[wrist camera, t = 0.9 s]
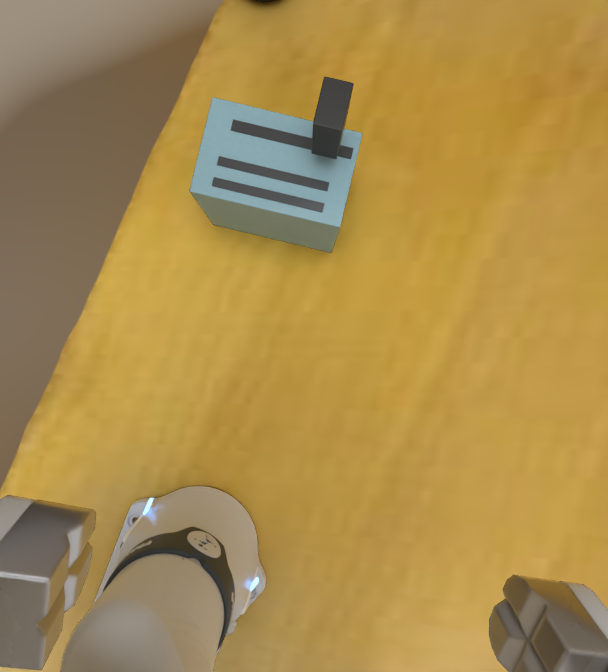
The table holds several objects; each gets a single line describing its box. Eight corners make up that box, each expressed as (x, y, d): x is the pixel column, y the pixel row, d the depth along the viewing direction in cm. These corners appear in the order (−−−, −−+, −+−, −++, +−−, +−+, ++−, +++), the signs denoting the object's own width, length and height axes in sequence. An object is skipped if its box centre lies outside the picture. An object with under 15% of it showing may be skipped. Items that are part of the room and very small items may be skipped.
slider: (344, 128, 43) (353, 82, 35) (334, 169, 43) (342, 131, 35) (320, 123, 43) (324, 75, 35) (310, 163, 43) (312, 124, 35)
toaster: (349, 178, 55) (362, 132, 43) (331, 252, 55) (340, 227, 43) (225, 149, 55) (204, 94, 43) (207, 223, 55) (180, 189, 43)
